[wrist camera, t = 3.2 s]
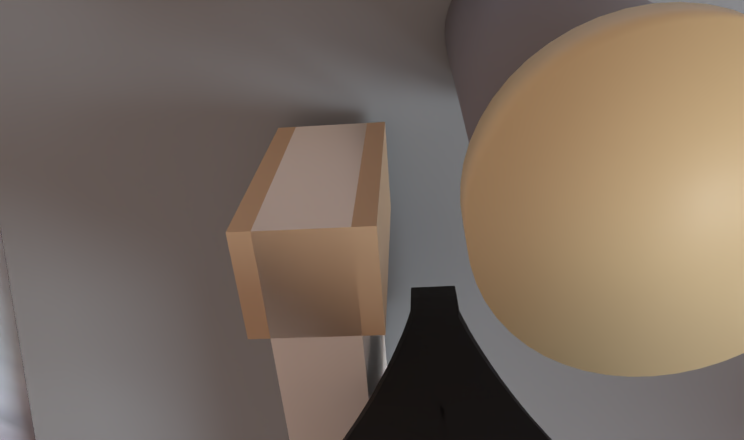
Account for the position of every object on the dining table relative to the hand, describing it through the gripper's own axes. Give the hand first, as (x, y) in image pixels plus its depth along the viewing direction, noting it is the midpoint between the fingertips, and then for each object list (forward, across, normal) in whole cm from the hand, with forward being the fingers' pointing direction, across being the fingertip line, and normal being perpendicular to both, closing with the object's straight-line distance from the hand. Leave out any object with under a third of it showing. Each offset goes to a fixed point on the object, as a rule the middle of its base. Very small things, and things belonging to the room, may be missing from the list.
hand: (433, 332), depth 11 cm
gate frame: (+2, 0, +3) cm, 4 cm away
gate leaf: (+1, +2, +2) cm, 3 cm away
